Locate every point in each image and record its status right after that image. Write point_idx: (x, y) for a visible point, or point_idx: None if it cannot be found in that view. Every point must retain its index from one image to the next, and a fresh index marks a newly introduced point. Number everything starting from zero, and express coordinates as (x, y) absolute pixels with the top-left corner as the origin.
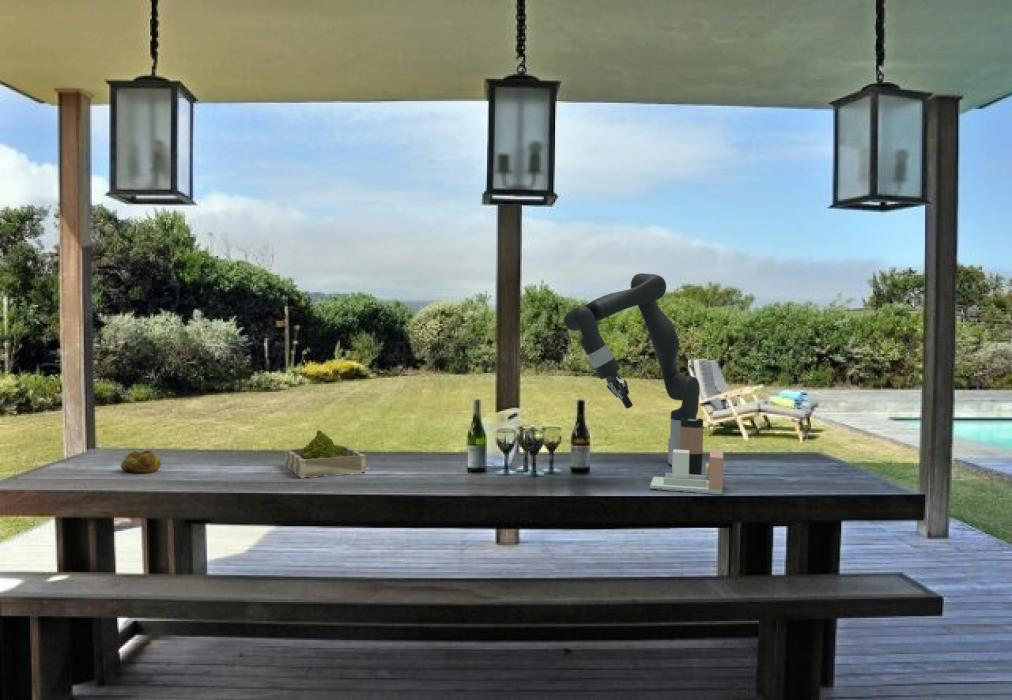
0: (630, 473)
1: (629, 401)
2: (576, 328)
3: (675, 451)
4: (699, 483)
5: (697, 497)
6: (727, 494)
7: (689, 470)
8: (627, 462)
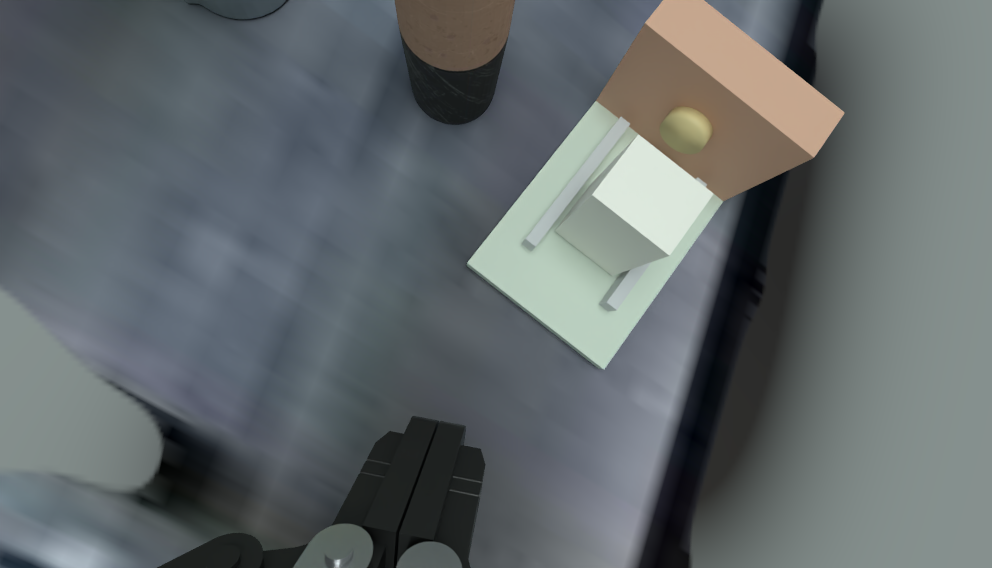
0: (294, 267)
1: (477, 498)
2: None
3: (651, 226)
4: None
5: (742, 273)
6: None
7: (487, 97)
8: (61, 139)
